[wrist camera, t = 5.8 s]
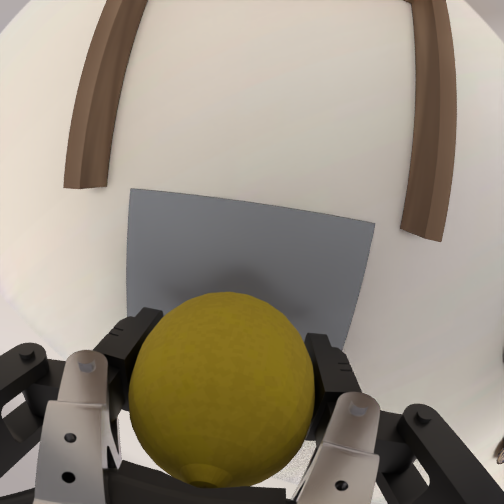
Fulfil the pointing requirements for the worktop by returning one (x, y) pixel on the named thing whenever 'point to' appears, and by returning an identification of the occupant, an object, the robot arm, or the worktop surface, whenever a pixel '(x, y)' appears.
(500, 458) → the burger
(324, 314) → the mat
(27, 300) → the worktop surface
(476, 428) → the worktop surface
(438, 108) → the bay
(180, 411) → the lemon
